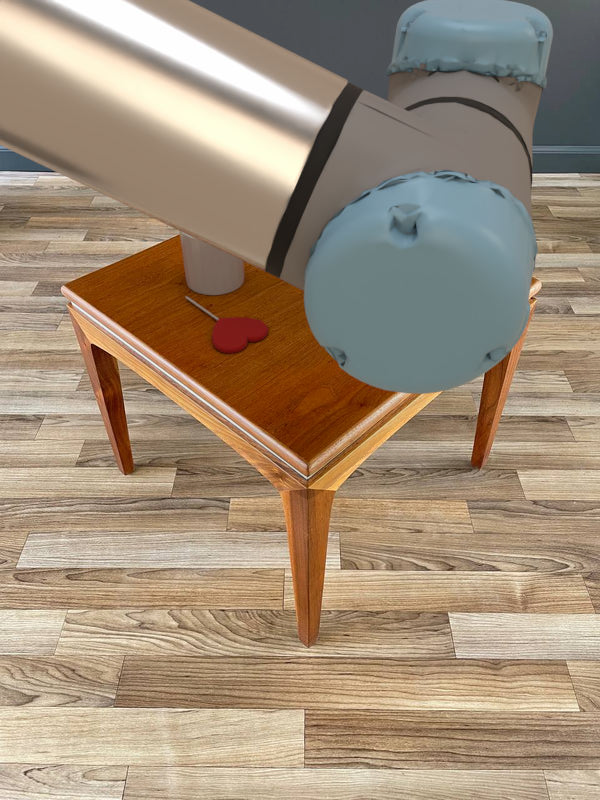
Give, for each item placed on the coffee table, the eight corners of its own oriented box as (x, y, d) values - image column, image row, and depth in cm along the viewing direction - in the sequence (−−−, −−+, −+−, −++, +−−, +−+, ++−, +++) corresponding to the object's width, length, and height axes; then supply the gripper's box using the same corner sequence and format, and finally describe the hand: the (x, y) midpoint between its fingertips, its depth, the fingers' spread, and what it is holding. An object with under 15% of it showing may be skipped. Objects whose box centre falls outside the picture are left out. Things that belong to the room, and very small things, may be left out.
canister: (180, 293, 94) (172, 238, 88) (192, 263, 100) (186, 209, 94) (239, 296, 93) (235, 240, 87) (248, 266, 100) (245, 212, 94)
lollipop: (163, 310, 91) (227, 359, 83) (162, 305, 90) (227, 353, 82) (209, 289, 95) (275, 334, 87) (208, 284, 94) (275, 328, 86)
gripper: (197, 309, 45) (124, 192, 60) (482, 238, 53) (358, 150, 68) (185, 209, 40) (108, 107, 54) (502, 148, 48) (363, 73, 63)
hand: (246, 131), depth 61 cm, fingers open, 13 cm apart
